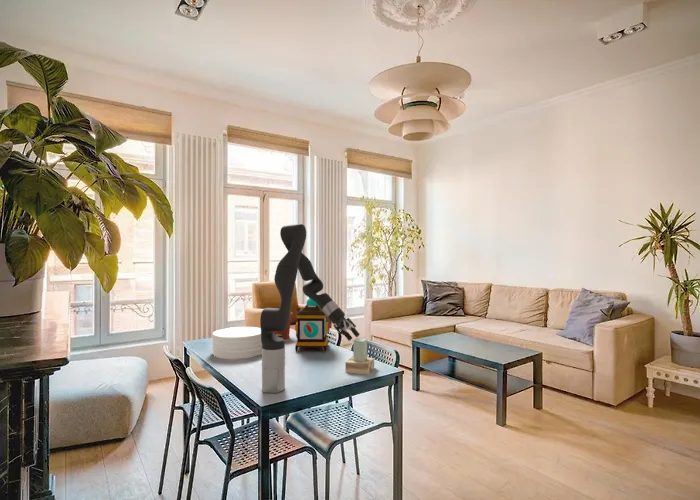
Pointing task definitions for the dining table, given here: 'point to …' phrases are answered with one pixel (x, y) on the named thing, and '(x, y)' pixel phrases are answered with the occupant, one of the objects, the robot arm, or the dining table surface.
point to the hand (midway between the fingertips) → (354, 337)
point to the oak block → (359, 366)
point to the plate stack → (237, 342)
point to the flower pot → (285, 333)
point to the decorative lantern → (311, 326)
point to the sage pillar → (360, 350)
